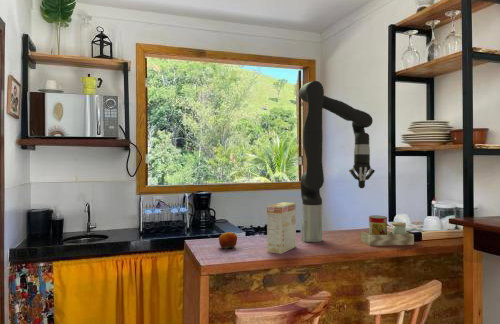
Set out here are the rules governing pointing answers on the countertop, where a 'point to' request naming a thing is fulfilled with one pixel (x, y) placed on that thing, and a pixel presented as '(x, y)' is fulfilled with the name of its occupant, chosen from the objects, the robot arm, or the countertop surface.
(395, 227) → the jar
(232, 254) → the countertop surface
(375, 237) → the grey green tray
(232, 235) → the fruit
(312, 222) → the robot arm
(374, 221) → the canned food
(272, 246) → the coffeecake box
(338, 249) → the countertop surface
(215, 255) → the countertop surface
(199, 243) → the countertop surface
